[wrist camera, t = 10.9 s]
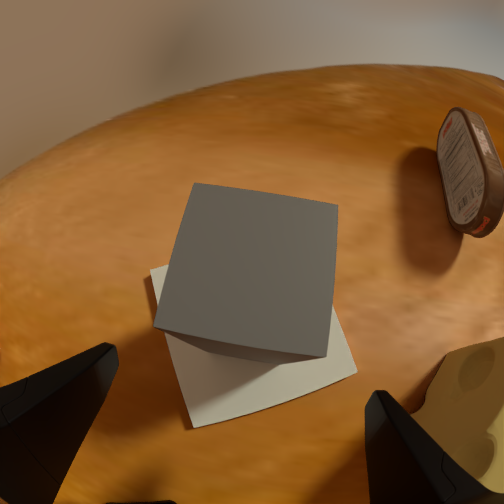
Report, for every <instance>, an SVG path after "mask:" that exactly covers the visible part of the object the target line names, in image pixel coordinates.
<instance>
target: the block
mask: <svg viewBox="0 0 504 504" xmlns="http://www.w3.org/2000/svg"><path fill="white" fill-rule="evenodd" d="M337 227H338V205H335V204H330V203H325V202H319V201H314V200H308V199H302V198H297V197H291V196H285V195H279V194H273V193H266V192H260V191H253V190H246V189H239V188H232V187H224V186H217V185H209V184H201V183H194V184H193V187H192V190H191V193H190V196H189V199H188V203H187V206H186V209H185V212H184V215H183V218H182V221H181V225H180V228H179V231H178V235H177V238H176V241H175V245H174V248H173V252H172V255H171V259H170V262H169V266H168V269H167V273H166V277H165V280H164V284H163V288H162V292H161V296H160V300H159V304H158V308H157V312H156V316H155V320H154V324H153V327H155V328H157V329H159V330H161V331H163V332H165V333H167V334H169V335H171V336H173V337H175V338H178V339H180V340H182V341H184V342H186V343H188V344H190V345H192V346H195V347H197V348H199V349H201V350H203V351H206V352H209V353H214V354H219V355H224V356H229V357H235V358H240V359H246V360H252V361H258V362H264V363H271V364H278V365H282V364H289V363H295V362H302V361H308V360H313V359H319V358H325V357H327V349H328V341H329V333H330V324H331V314H332V304H333V293H334V280H335V266H336V249H337Z"/></svg>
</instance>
